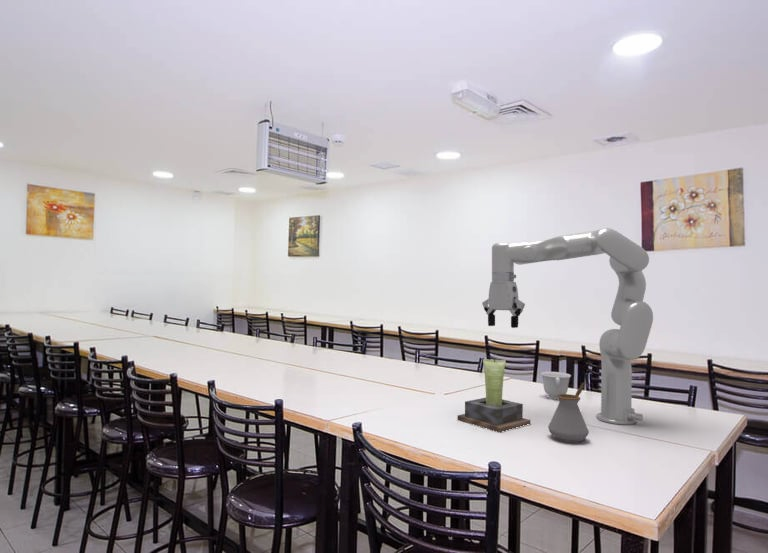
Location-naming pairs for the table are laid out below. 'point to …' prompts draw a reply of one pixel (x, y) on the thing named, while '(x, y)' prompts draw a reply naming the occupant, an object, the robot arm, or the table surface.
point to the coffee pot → (569, 419)
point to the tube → (494, 381)
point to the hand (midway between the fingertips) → (502, 326)
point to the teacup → (555, 383)
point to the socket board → (494, 415)
